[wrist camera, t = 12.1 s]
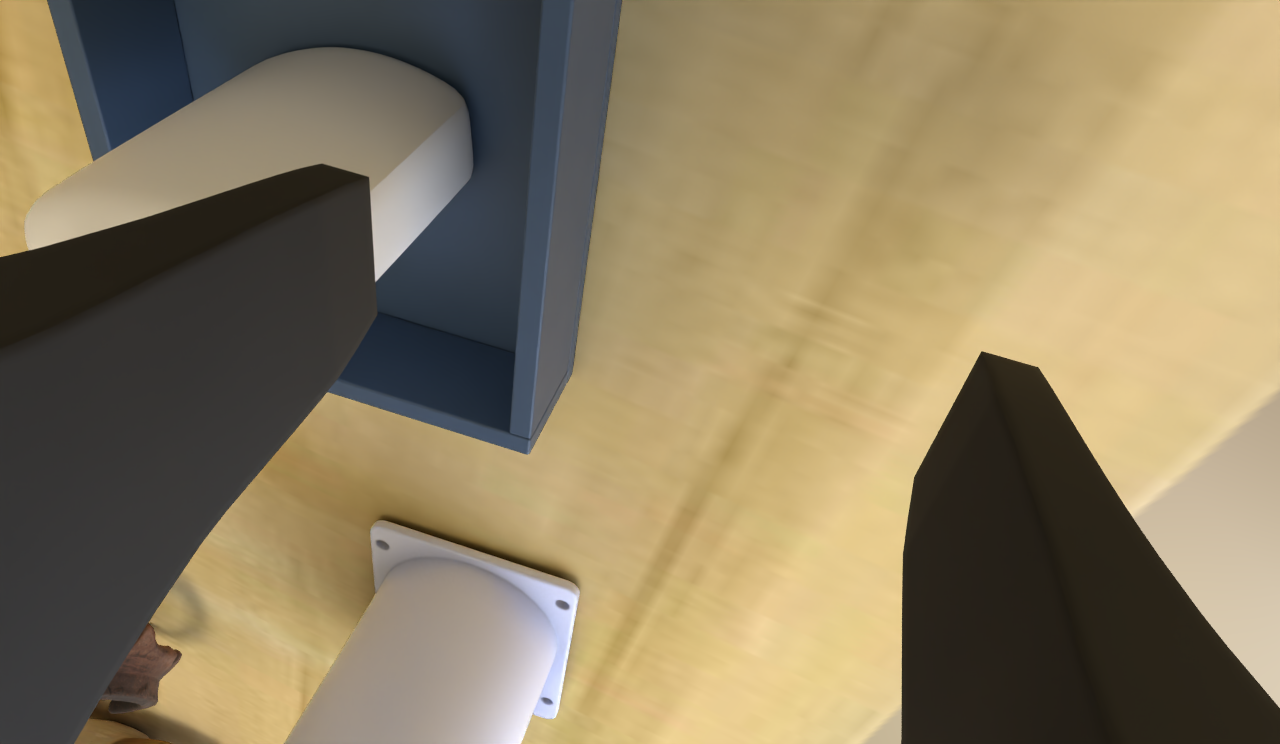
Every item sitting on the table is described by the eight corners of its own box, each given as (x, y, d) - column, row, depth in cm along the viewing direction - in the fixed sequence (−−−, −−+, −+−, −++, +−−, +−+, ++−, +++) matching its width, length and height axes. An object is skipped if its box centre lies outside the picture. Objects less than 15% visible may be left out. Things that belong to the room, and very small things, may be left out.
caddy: (572, 373, 25) (528, 456, 23) (221, 267, 27) (142, 334, 24) (641, -140, 17) (583, -102, 14) (115, -264, 18) (-27, -249, 15)
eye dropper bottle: (439, 243, 23) (115, 618, 14) (248, 116, 22) (-227, 430, 13) (507, 116, 20) (155, 484, 11) (291, -35, 19) (-276, 234, 10)
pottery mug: (119, 476, 36) (76, 686, 33) (246, 537, 45) (223, 710, 41) (-138, 510, 38) (-208, 715, 34) (31, 563, 46) (-10, 732, 42)
